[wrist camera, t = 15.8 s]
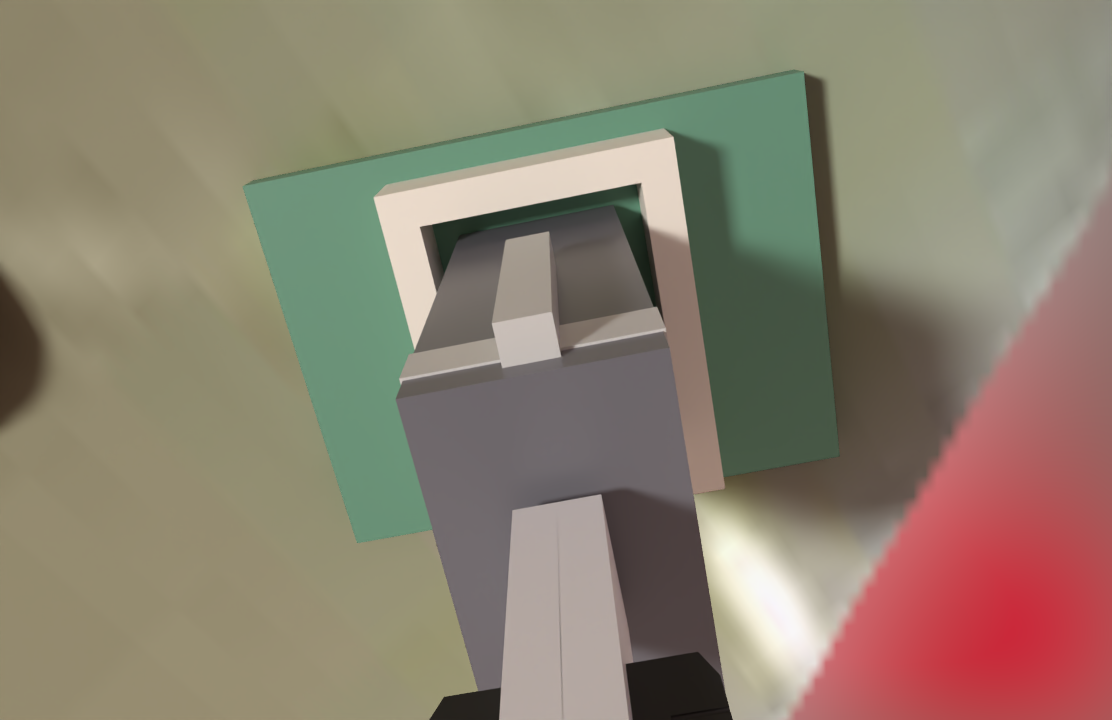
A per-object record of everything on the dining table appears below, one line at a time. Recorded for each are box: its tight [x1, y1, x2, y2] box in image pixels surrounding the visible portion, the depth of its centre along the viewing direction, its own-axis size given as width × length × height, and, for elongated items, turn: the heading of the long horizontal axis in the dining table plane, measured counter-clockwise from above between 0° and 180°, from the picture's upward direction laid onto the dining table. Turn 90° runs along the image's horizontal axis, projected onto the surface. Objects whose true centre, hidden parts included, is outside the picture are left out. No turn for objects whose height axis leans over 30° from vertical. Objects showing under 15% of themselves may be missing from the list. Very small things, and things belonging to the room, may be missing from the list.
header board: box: [243, 70, 840, 543], centre depth 26 cm, size 16×12×3 cm
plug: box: [395, 205, 725, 691], centre depth 21 cm, size 5×8×12 cm, turn 11°
